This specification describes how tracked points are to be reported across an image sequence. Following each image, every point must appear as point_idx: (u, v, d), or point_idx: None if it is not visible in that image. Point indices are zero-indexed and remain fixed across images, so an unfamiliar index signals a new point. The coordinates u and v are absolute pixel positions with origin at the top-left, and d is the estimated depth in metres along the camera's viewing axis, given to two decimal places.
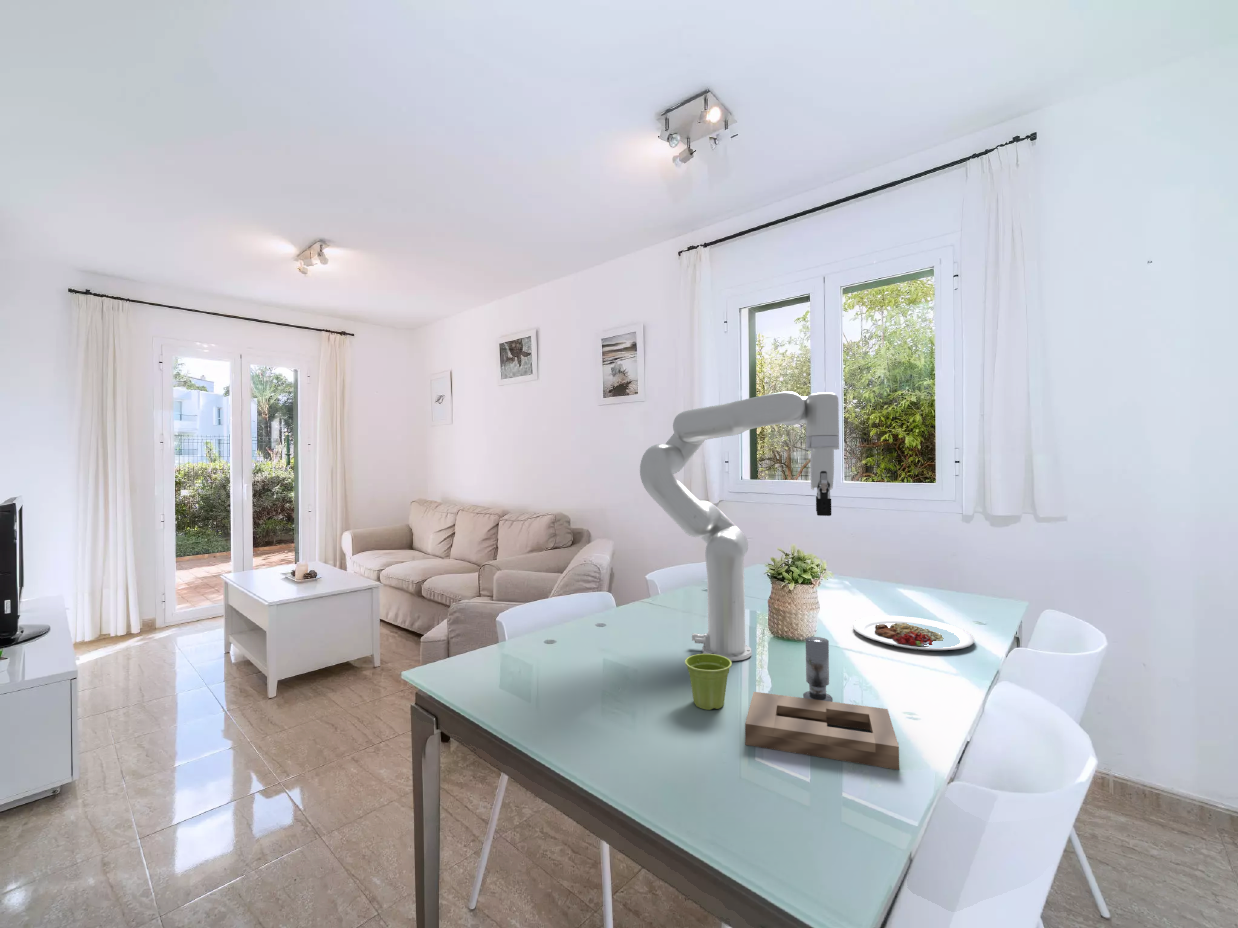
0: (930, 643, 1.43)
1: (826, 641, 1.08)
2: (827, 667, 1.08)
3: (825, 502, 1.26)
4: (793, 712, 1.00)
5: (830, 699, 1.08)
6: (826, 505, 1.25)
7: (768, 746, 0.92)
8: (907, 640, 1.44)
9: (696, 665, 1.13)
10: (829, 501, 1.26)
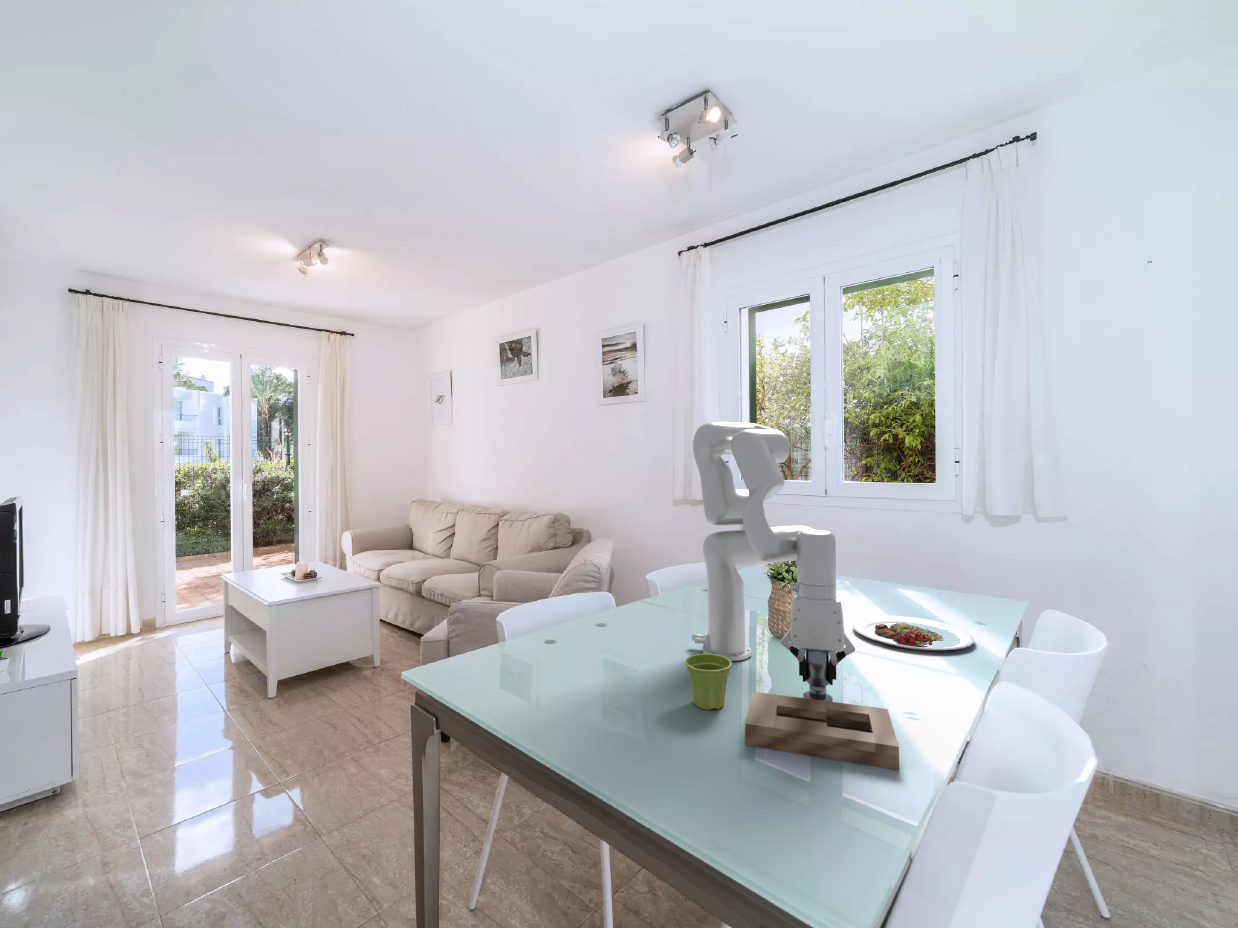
0: (930, 643, 1.43)
1: None
2: (827, 667, 1.08)
3: None
4: (793, 712, 1.00)
5: (830, 699, 1.08)
6: None
7: (768, 746, 0.92)
8: (907, 640, 1.44)
9: (696, 665, 1.13)
10: None
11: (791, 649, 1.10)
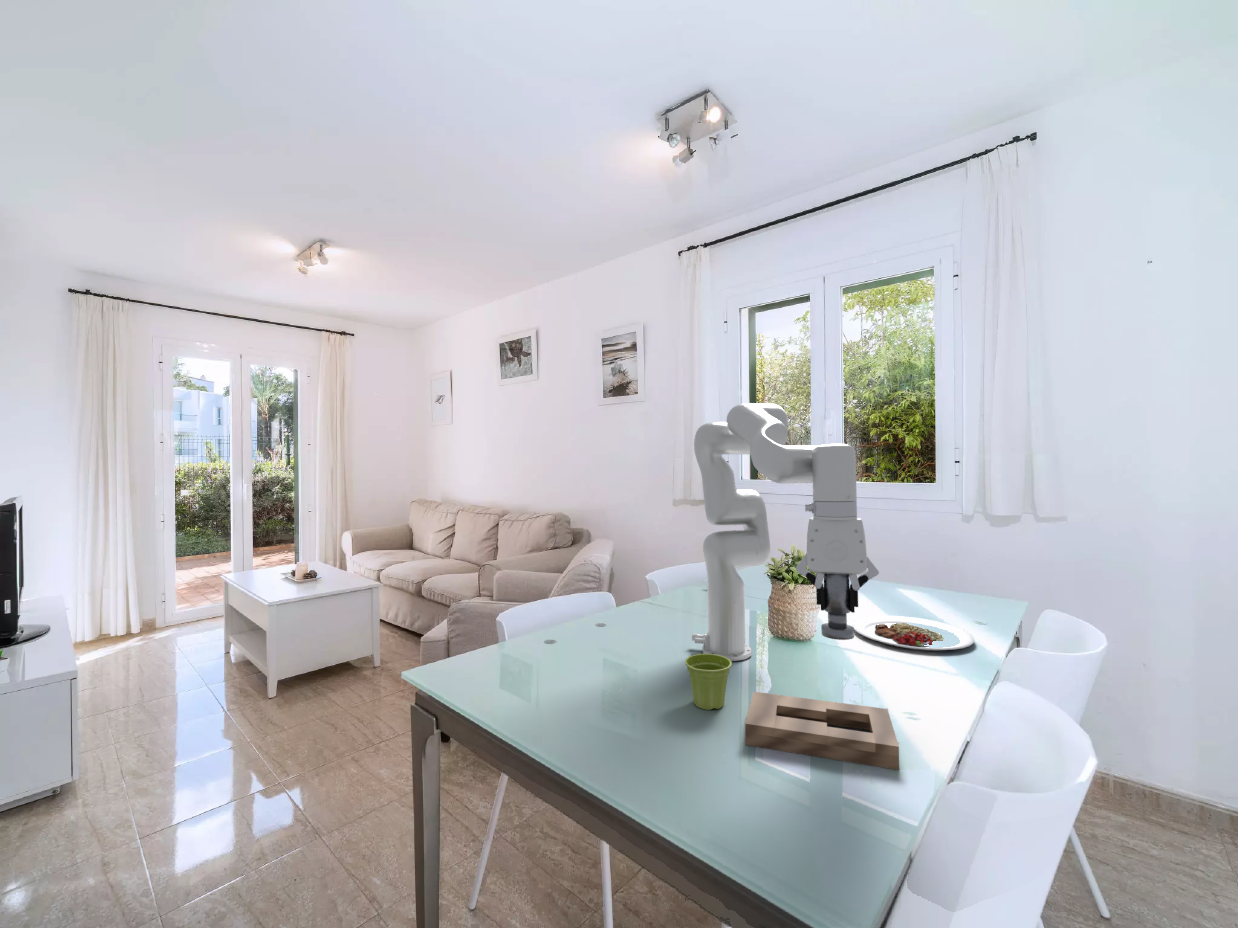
0: (930, 643, 1.43)
1: None
2: (848, 593, 0.98)
3: None
4: (793, 712, 1.00)
5: (851, 629, 0.98)
6: None
7: (768, 746, 0.92)
8: (907, 640, 1.44)
9: (696, 665, 1.13)
10: None
11: (808, 575, 1.00)
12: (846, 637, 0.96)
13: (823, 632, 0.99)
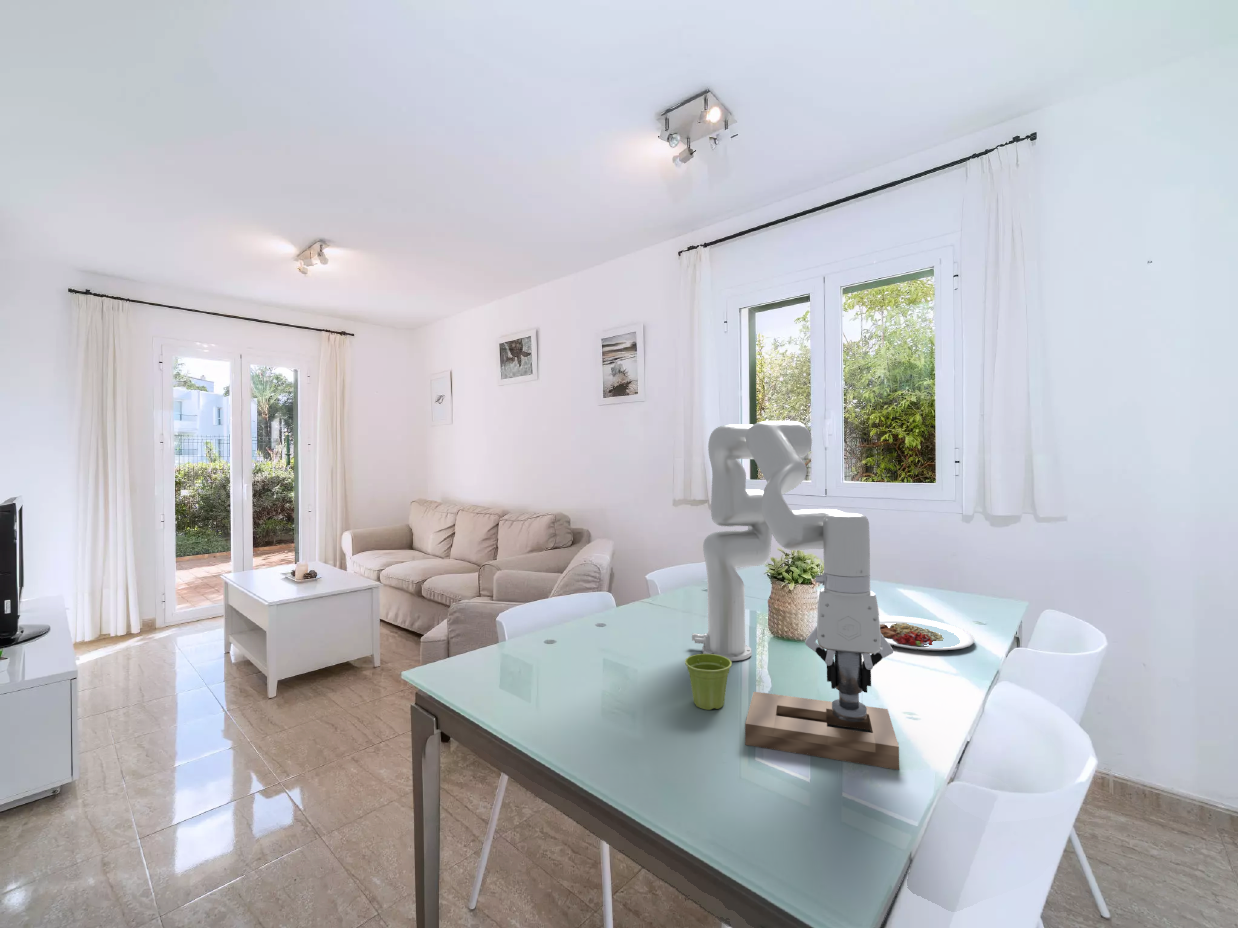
0: (930, 643, 1.43)
1: None
2: (860, 671, 0.93)
3: None
4: (793, 712, 1.00)
5: (864, 709, 0.93)
6: None
7: (768, 746, 0.92)
8: (907, 640, 1.44)
9: (696, 665, 1.13)
10: None
11: (818, 651, 0.95)
12: (858, 719, 0.91)
13: (834, 711, 0.94)
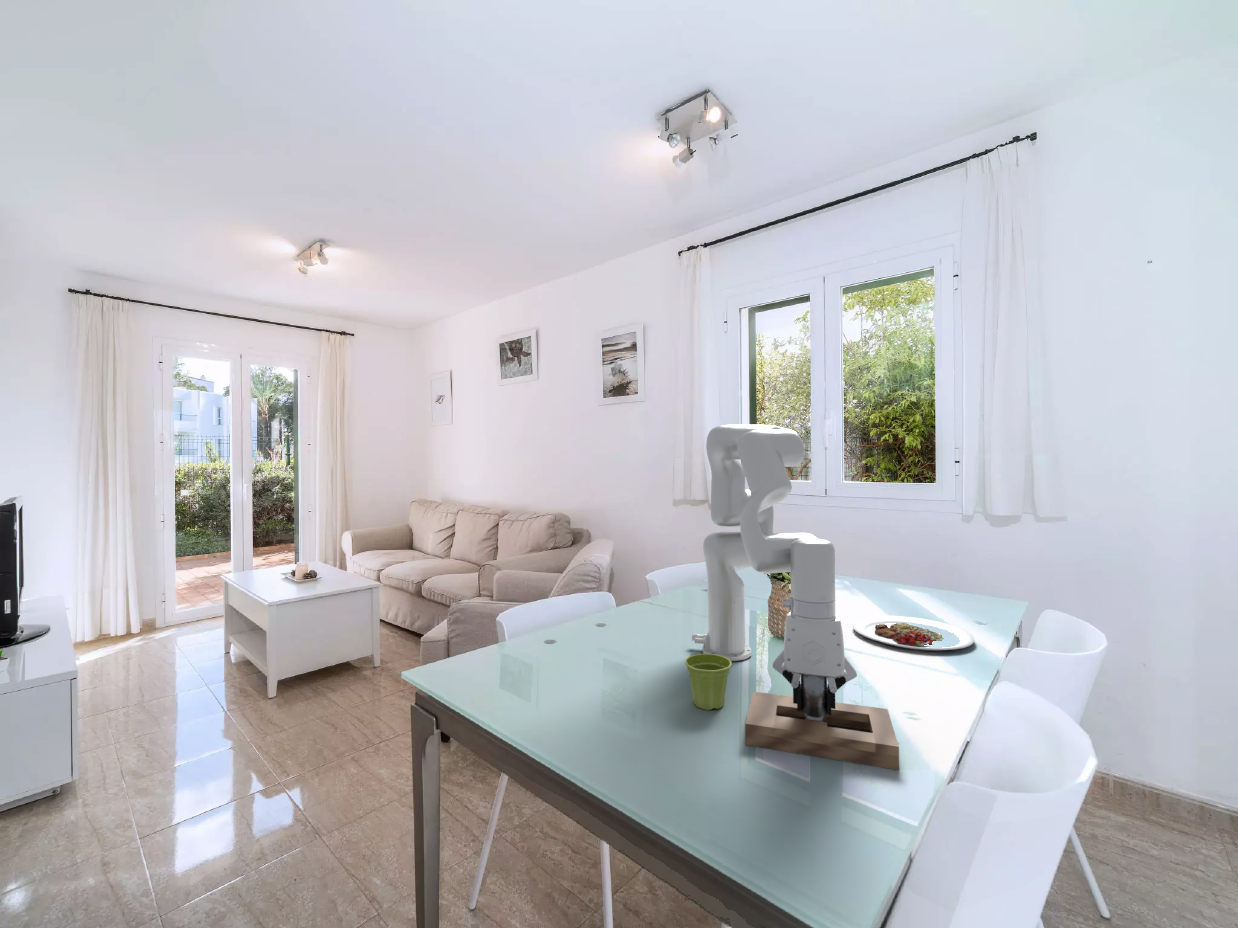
0: (930, 643, 1.43)
1: None
2: (825, 694, 0.95)
3: None
4: (793, 712, 1.00)
5: None
6: None
7: (768, 746, 0.92)
8: (907, 640, 1.44)
9: (696, 665, 1.13)
10: None
11: (784, 673, 0.97)
12: None
13: None
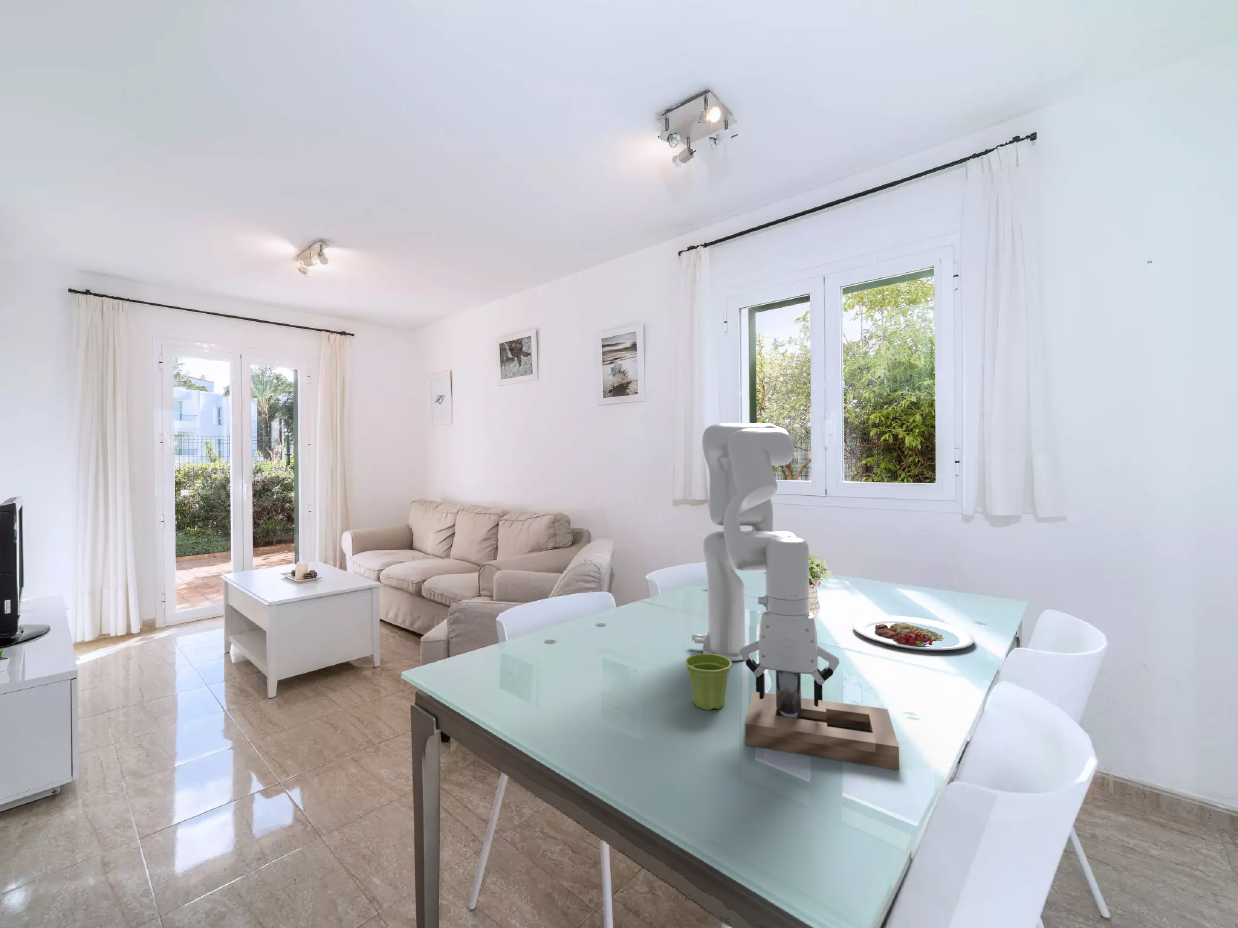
0: (930, 643, 1.43)
1: None
2: (799, 691, 0.96)
3: None
4: None
5: None
6: None
7: (768, 746, 0.92)
8: (907, 640, 1.44)
9: (696, 665, 1.13)
10: None
11: (747, 663, 0.99)
12: None
13: None
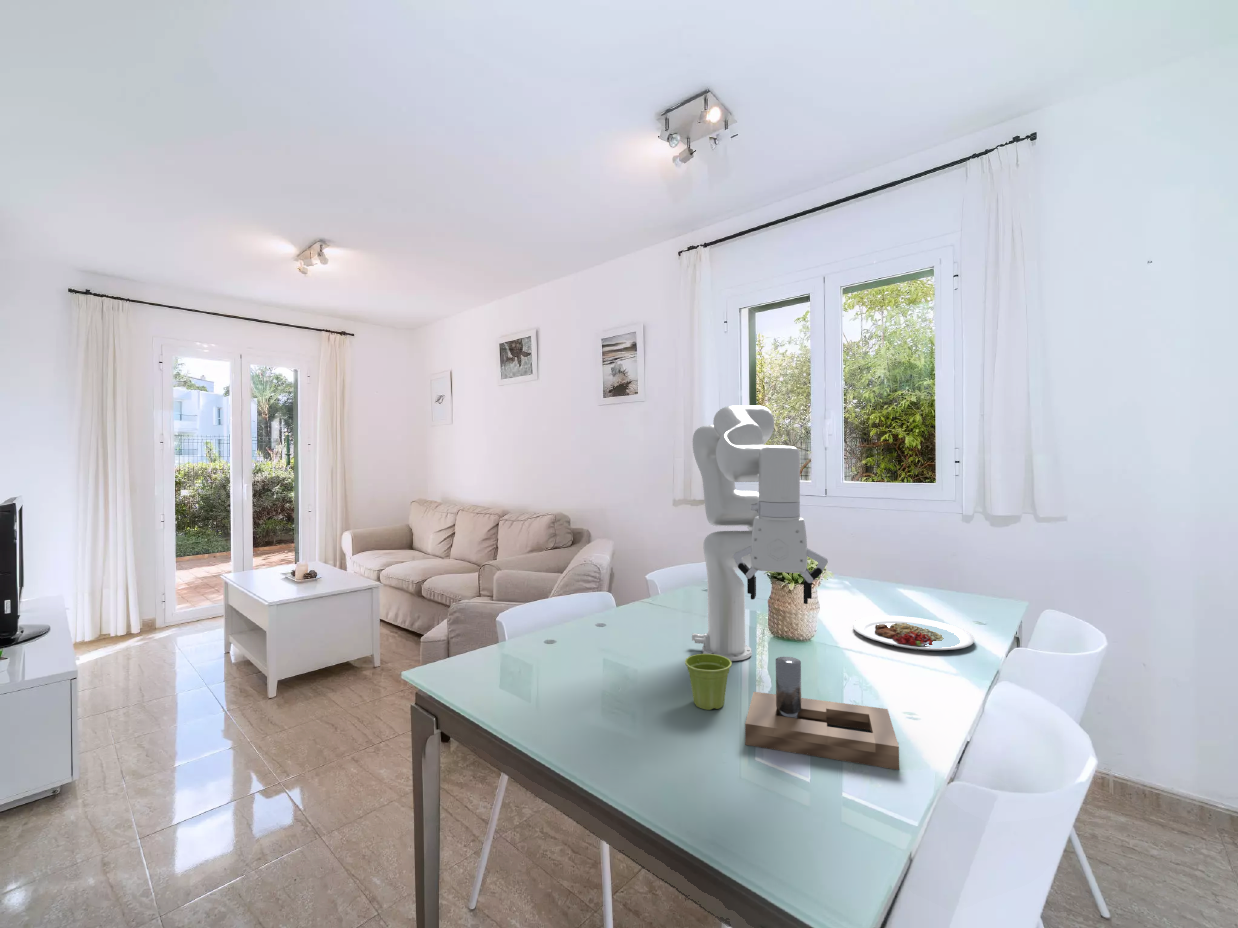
0: (930, 643, 1.43)
1: (798, 662, 0.97)
2: (799, 691, 0.96)
3: None
4: None
5: None
6: None
7: (768, 746, 0.92)
8: (907, 640, 1.44)
9: (696, 665, 1.13)
10: None
11: (739, 566, 1.04)
12: None
13: None
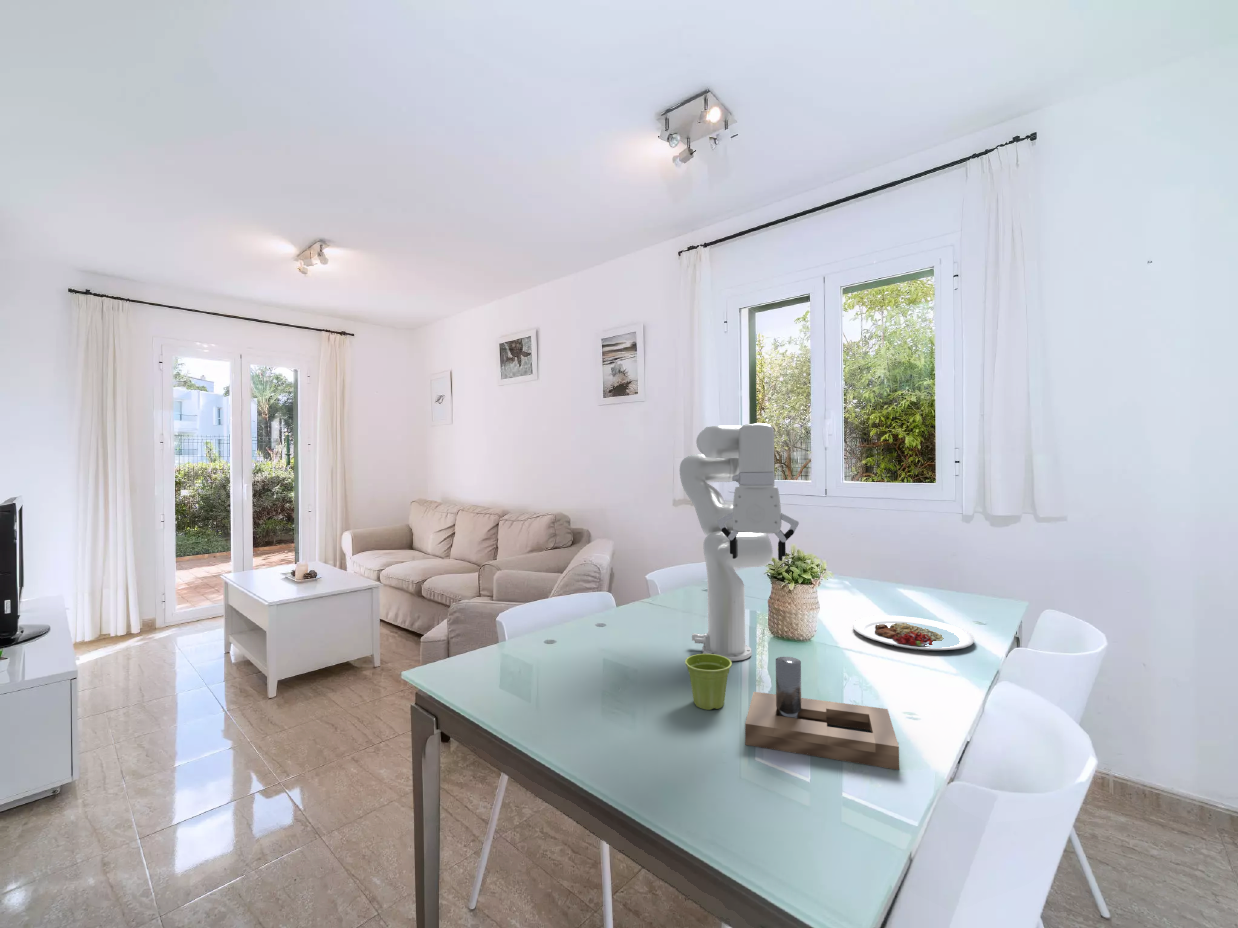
0: (930, 643, 1.43)
1: (798, 662, 0.97)
2: (799, 691, 0.96)
3: (785, 545, 1.15)
4: None
5: None
6: (785, 548, 1.16)
7: (768, 746, 0.92)
8: (907, 640, 1.44)
9: (696, 665, 1.13)
10: None
11: (723, 530, 1.19)
12: None
13: None
